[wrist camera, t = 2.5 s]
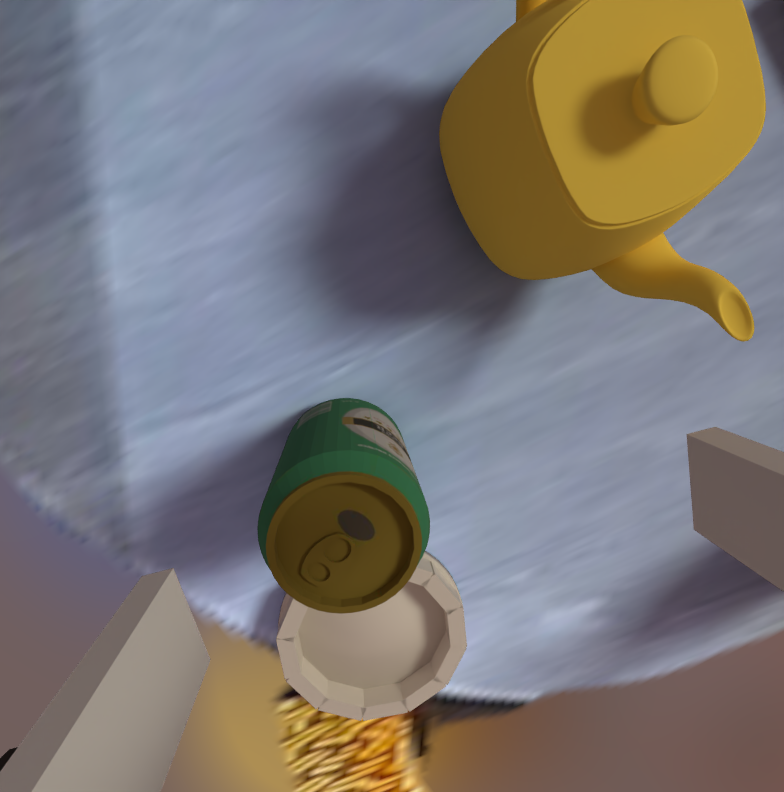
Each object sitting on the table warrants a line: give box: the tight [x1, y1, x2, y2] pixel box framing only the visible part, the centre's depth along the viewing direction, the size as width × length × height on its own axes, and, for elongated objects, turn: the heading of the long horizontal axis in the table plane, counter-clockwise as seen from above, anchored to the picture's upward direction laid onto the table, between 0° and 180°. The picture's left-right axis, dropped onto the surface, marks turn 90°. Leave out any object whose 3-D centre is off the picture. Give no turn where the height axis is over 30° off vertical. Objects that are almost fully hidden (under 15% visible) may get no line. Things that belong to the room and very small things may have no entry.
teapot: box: [439, 0, 766, 341], centre depth 22 cm, size 13×20×12 cm
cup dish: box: [276, 551, 467, 721], centre depth 34 cm, size 14×14×2 cm
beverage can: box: [258, 398, 430, 614], centre depth 26 cm, size 8×8×12 cm
